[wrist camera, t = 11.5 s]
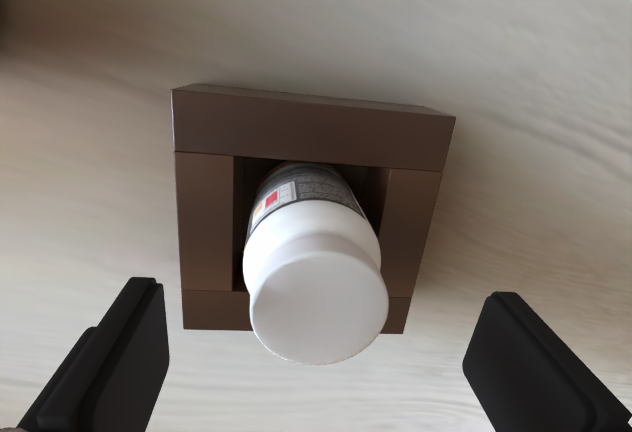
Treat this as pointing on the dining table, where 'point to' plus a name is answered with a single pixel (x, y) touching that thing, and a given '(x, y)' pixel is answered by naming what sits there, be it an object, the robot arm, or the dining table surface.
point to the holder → (300, 145)
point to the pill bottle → (312, 266)
